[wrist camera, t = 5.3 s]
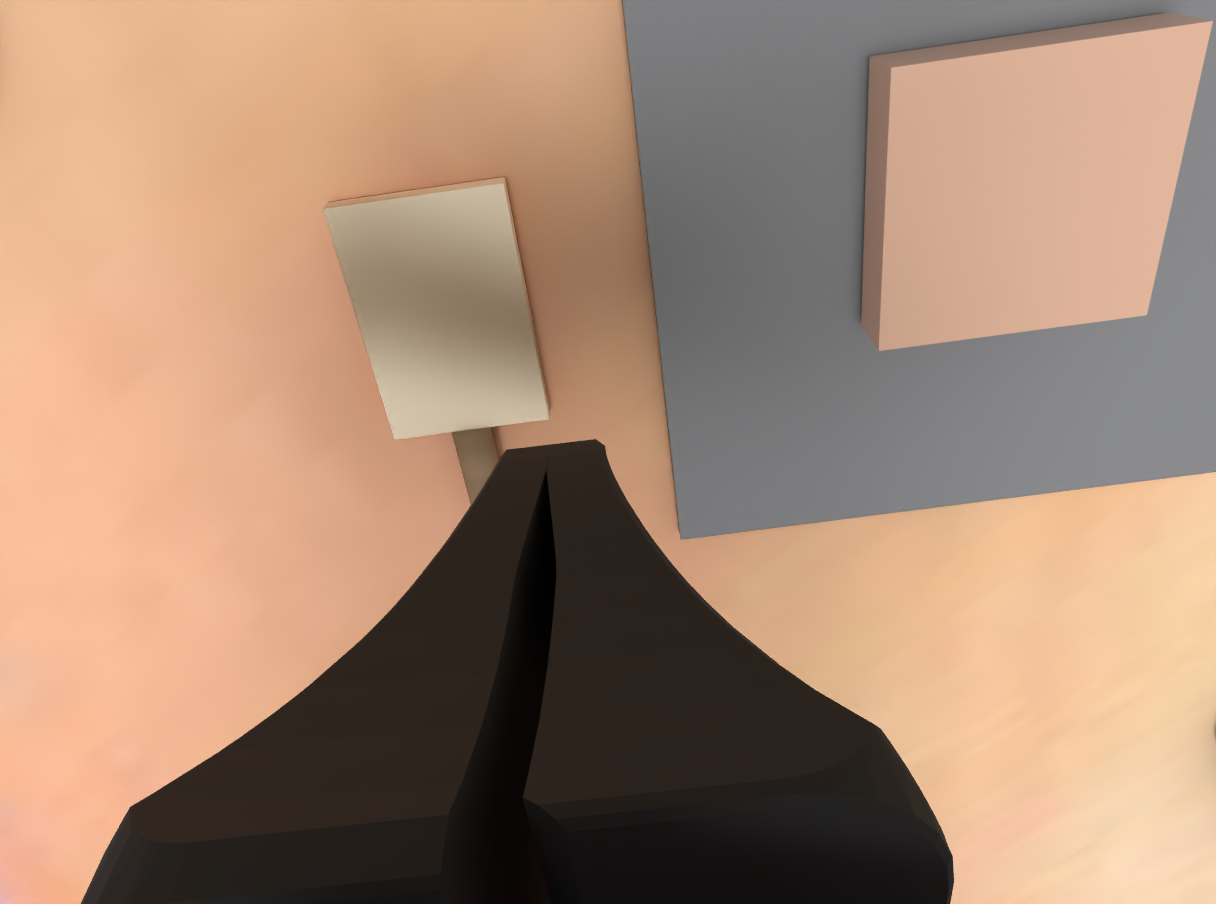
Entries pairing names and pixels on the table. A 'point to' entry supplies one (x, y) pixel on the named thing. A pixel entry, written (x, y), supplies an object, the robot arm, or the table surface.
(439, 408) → the turner
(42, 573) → the table surface
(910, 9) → the mat
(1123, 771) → the table surface
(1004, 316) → the tile
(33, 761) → the table surface
